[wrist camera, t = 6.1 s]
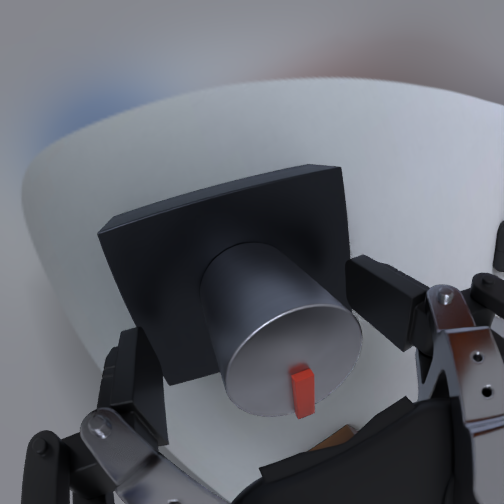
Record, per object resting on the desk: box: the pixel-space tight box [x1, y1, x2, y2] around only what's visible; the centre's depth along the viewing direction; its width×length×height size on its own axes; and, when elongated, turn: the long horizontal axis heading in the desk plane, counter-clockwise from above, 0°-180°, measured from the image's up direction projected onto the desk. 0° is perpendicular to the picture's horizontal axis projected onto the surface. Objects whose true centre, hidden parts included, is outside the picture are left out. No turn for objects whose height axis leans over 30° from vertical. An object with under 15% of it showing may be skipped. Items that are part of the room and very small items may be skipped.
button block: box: [309, 425, 358, 451], centre depth 25 cm, size 17×9×4 cm, turn 37°
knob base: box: [97, 164, 352, 386], centre depth 13 cm, size 10×8×3 cm
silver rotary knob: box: [200, 243, 362, 419], centre depth 9 cm, size 4×4×5 cm
